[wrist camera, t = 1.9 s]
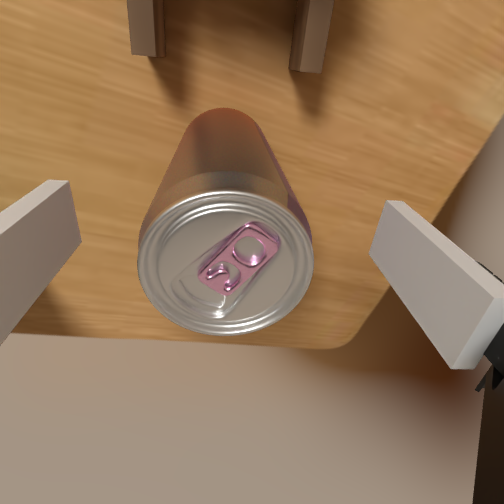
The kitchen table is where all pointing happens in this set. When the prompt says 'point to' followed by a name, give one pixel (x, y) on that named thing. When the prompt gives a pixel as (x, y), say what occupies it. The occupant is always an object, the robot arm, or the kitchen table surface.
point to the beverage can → (225, 232)
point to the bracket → (303, 42)
